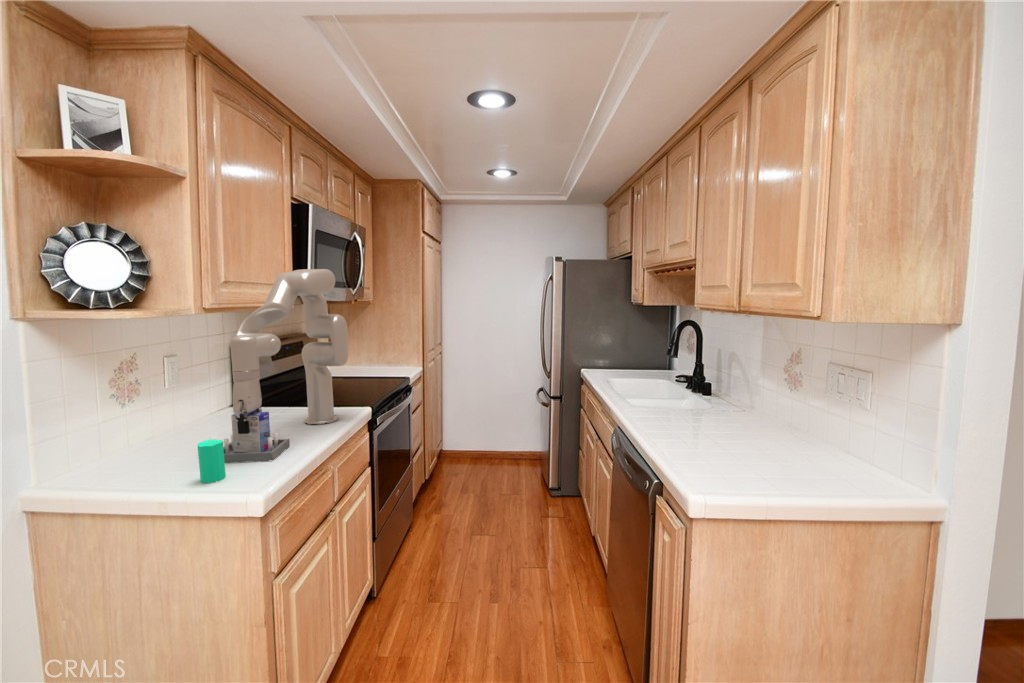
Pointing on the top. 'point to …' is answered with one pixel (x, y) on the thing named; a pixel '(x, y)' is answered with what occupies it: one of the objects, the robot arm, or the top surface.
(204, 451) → the candle
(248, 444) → the ink cartridge box
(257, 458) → the pin tray
